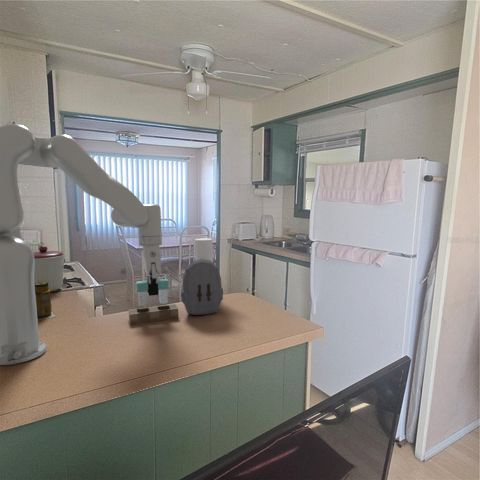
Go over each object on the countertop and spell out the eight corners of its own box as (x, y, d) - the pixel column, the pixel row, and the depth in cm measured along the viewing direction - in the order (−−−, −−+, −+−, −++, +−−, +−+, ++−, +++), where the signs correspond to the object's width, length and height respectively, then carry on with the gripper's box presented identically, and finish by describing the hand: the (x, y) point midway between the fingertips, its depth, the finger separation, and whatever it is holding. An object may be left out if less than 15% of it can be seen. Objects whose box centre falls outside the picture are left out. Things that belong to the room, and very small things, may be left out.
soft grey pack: (221, 308, 128) (220, 256, 126) (225, 315, 120) (224, 260, 118) (180, 312, 124) (178, 258, 122) (182, 320, 116) (181, 262, 114)
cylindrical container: (197, 301, 138) (196, 240, 135) (195, 297, 144) (193, 238, 142) (215, 300, 140) (213, 239, 137) (212, 295, 146) (210, 238, 144)
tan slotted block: (178, 318, 118) (178, 308, 118) (130, 324, 112) (129, 314, 112) (175, 313, 124) (175, 303, 123) (129, 319, 118) (128, 309, 118)
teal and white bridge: (169, 303, 118) (168, 280, 117) (137, 306, 114) (136, 283, 113) (168, 300, 121) (167, 278, 120) (137, 304, 117) (136, 281, 116)
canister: (62, 283, 172) (59, 242, 170) (72, 290, 159) (69, 245, 156) (20, 290, 161) (17, 245, 159) (26, 297, 147) (22, 249, 145)
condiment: (51, 311, 128) (48, 280, 127) (56, 317, 122) (53, 284, 120) (28, 315, 124) (26, 283, 122) (32, 321, 117) (29, 287, 116)
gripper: (165, 242, 109) (167, 298, 111) (158, 238, 124) (160, 287, 126) (141, 244, 106) (143, 301, 108) (137, 239, 121) (139, 289, 123)
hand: (152, 293), depth 117 cm, fingers closed on teal and white bridge, 3 cm apart
